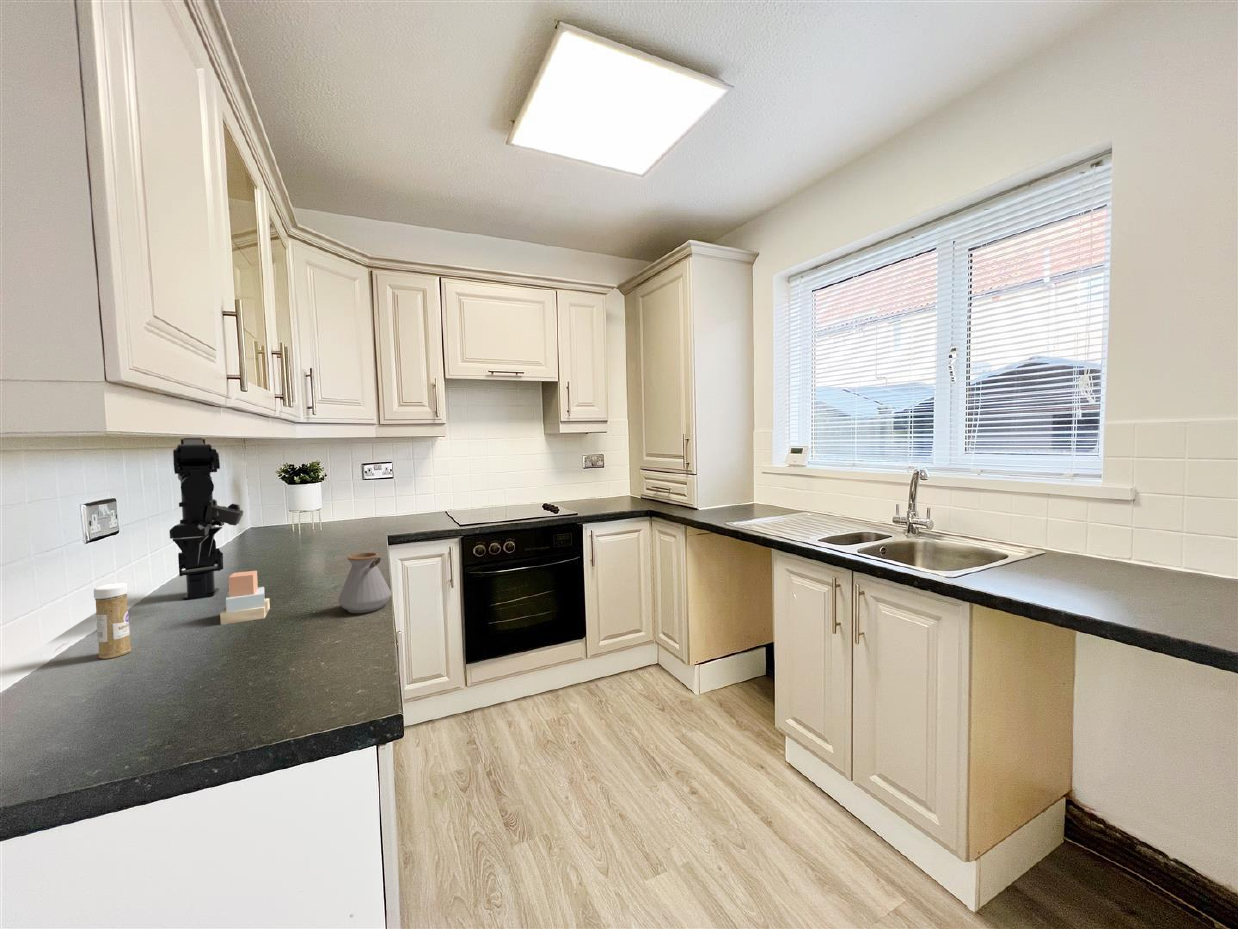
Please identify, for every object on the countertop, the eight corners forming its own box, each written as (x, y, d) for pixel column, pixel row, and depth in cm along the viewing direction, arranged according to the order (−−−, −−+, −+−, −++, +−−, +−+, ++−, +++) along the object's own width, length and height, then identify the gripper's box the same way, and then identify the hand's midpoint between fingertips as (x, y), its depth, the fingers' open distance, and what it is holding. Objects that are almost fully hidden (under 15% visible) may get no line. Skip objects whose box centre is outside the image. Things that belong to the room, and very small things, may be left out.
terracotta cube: (234, 591, 118) (233, 572, 117) (257, 589, 120) (256, 570, 119) (229, 597, 114) (228, 577, 113) (253, 594, 116) (252, 575, 115)
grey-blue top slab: (228, 604, 118) (227, 592, 118) (264, 598, 122) (264, 586, 122) (226, 612, 112) (225, 599, 112) (264, 606, 116) (264, 593, 116)
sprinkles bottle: (131, 654, 96) (127, 585, 96) (97, 662, 93) (92, 590, 92) (131, 647, 100) (127, 580, 99) (98, 654, 96) (94, 585, 96)
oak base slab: (229, 615, 119) (228, 603, 119) (269, 610, 122) (269, 598, 122) (220, 626, 112) (220, 613, 112) (264, 620, 115) (263, 607, 115)
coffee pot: (334, 607, 123) (332, 546, 122) (384, 597, 130) (382, 540, 129) (352, 632, 106) (350, 562, 105) (409, 619, 113) (407, 554, 112)
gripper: (229, 498, 115) (233, 565, 116) (246, 491, 132) (249, 550, 133) (166, 501, 110) (170, 571, 111) (192, 494, 127) (196, 555, 128)
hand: (200, 561), depth 121 cm, fingers open, 9 cm apart
